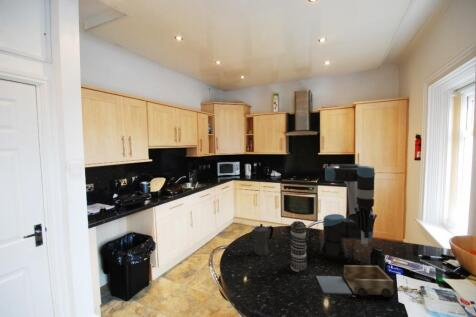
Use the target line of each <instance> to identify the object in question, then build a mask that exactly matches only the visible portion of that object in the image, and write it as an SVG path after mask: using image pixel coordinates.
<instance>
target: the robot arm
mask: <svg viewBox="0 0 476 317" xmlns="http://www.w3.org/2000/svg"><path fill="white" fill-rule="evenodd" d="M324 173H325V174H324V179H325V181H327V182H344V184H345V185H346V189H347V200H348V209H349V214H348V215H347V216H346V217H345V216H344V215H343V214H339V213H331V214H327V215H325V216H324V217H323V223H322V226H323V236H322V238H323V239H322V242H321V245H320V249H319V253H320V254H321V255H322V256H323V257H326V258H328V259H331V260H339V261H340V260H341V261H342V260H345V259H347V258H348V250H347V247H346V245H345V244H346V243H345V239H347V240H356V241H360V243H361V244H362V245H368V244H369V242H371V241H372V240H373V237H374V226H375V220H376V218H377V214H376V213H374V210H373V207H374V206H375V199H374V197H375V176H376V173H375V168H374V166H369V165H362V164H360V163H351V164H350V163H336V164H331V165H328V166H327V167H325V169H324Z"/></svg>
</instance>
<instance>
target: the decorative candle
mask: <svg viewBox="0 0 476 317" xmlns="http://www.w3.org/2000/svg"><path fill="white" fill-rule="evenodd" d="M290 228H291V229H290V232H289V242H290V243H289V244H290V248H291V249H290V255H289V256H290V269H291V270H292V271H294V272H297V273H299V272H300V271H304V270H306V269H307V268H308V266H307V265H308V264H307V261H308V260H307V259H308V257H307V251H306V250H307V246H308V244H307V242H308V237H307V236H308V233H307V231H306V230H307V229H306V228H307V225H306V224H305V222H303V221H300V220H296V221H293V222H292V223H291V224H290Z"/></svg>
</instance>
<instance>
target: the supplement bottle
mask: <svg viewBox="0 0 476 317" xmlns="http://www.w3.org/2000/svg"><path fill="white" fill-rule="evenodd" d="M369 266H379V267H380V268H381V269H382V270H383V271H384V272H385V273H386V268H385V267H386V256H385V254H384V249H383V247H381V246H377V245H374V246H372V247H371V251H370V252H369Z"/></svg>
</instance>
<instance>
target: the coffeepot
mask: <svg viewBox="0 0 476 317" xmlns="http://www.w3.org/2000/svg"><path fill="white" fill-rule="evenodd" d="M274 230H275V229H274V227H273V226H272V225H267V226H264V225H263V224H262V223H260V225H258V226H254V227H253V229H252V230H251V233H253V235H254V236H255V245H254V254H255V255H257V256H267V255H268V254H269V253H270V251H269V245H268V240H271V239H272V238H273V233H274ZM269 231H270V233H269Z"/></svg>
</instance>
